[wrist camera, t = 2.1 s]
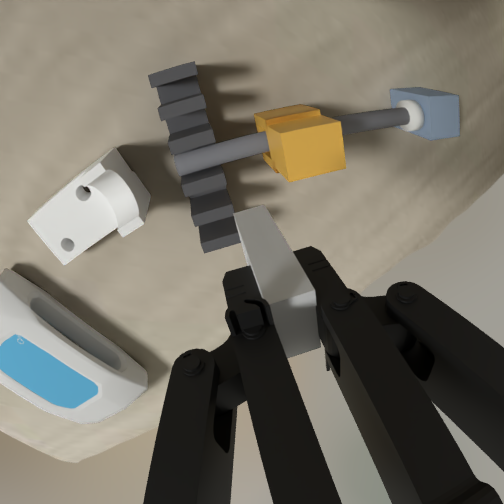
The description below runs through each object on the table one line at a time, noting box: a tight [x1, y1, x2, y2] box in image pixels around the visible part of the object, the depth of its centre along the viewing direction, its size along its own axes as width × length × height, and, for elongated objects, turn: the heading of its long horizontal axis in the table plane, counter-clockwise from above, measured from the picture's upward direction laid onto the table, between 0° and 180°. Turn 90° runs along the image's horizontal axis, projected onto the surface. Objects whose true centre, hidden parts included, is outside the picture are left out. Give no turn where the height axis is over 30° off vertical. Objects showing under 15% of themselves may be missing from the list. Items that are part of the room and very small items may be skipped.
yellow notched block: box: [254, 104, 346, 182], centre depth 27 cm, size 5×5×9 cm
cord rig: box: [148, 61, 460, 253], centre depth 30 cm, size 32×18×8 cm, turn 102°
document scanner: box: [0, 269, 148, 424], centre depth 40 cm, size 21×28×6 cm
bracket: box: [27, 147, 151, 266], centre depth 30 cm, size 13×7×8 cm, turn 117°
